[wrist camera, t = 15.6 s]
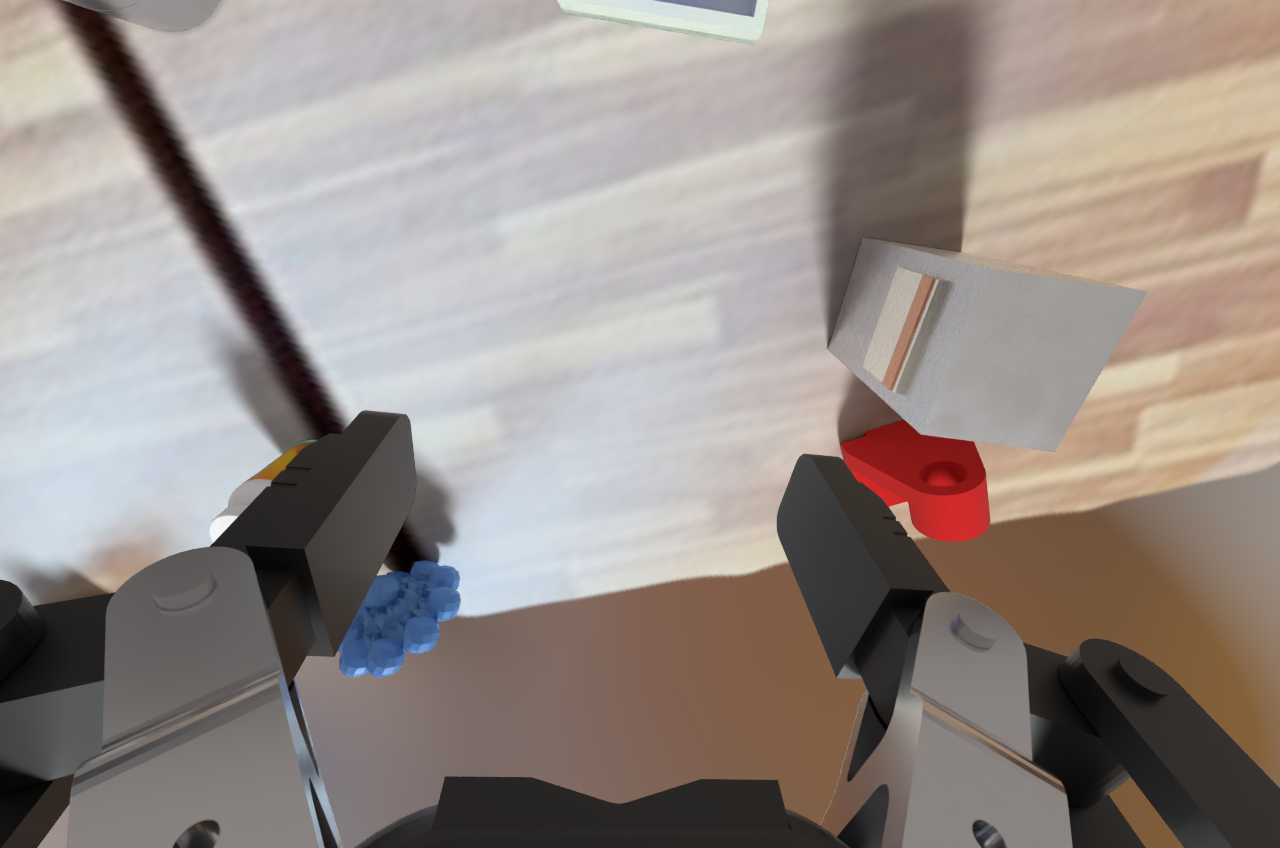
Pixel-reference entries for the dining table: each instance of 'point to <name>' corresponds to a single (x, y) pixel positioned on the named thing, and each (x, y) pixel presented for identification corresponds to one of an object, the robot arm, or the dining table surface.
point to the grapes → (399, 618)
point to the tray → (681, 15)
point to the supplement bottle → (252, 490)
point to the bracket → (924, 478)
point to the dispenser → (977, 341)
